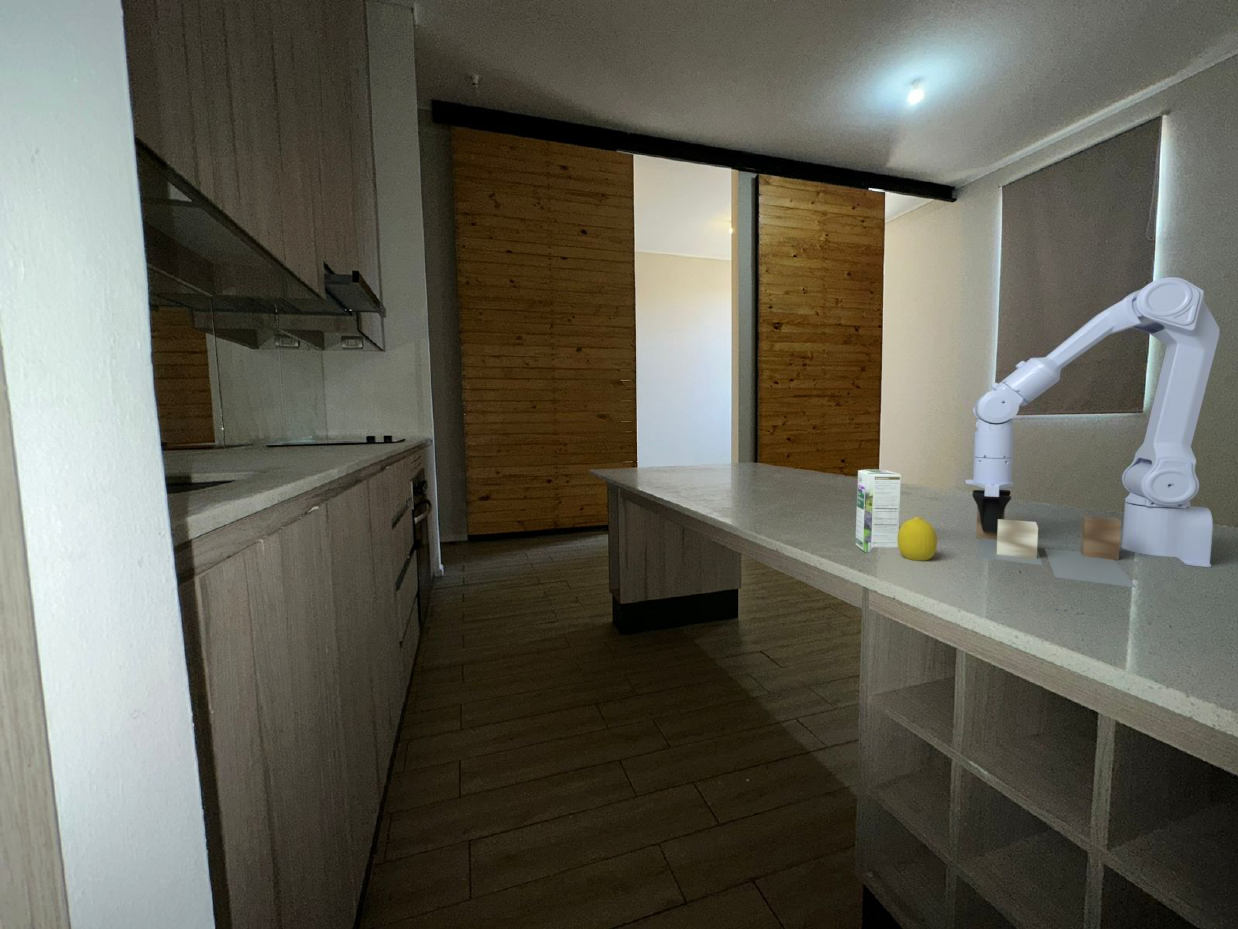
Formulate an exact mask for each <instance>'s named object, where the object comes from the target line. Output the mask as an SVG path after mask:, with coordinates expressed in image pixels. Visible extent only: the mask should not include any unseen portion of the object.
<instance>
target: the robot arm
mask: <svg viewBox="0 0 1238 929" xmlns="http://www.w3.org/2000/svg"><path fill="white" fill-rule="evenodd" d="M1128 329H1135V330H1136V331H1141V332H1144V333H1148V334H1149V335H1151V336H1152V337H1154V339H1157V340H1158V341H1159V342H1160V343H1161V344H1164V346H1166V349H1165V353H1164V358H1163V362H1162V366H1161V370H1160V374H1159V378H1158V382H1157V386H1156V391H1155V395H1154V399H1153V402H1152V407H1151V412H1150V416H1149V420H1148V424H1147V428H1146V432H1145V436H1144V441H1143V443H1142V445H1141V446H1140V447H1138V449H1137V451H1136V452H1135V455H1134V458H1133V460H1132V462H1131V464H1130V465H1128V467H1127V468H1125V469H1124V471H1123V473H1122V476H1121V482H1122V483H1121V484H1122V485H1123V487H1124V489H1125V490H1126V491H1127V492H1128V493H1129V494H1128V495H1127V497H1125V498H1124V499H1125V500H1124V510H1123V511H1124V512H1123V523H1122V524H1123V526H1122V541H1121V543H1122V544H1121V548H1122V549H1123V550H1126V551H1129V552H1133V553H1137V554H1144V555H1150V556H1155V557H1156V556H1158V557H1167V558H1168V557H1171V558H1172V557H1173V558H1178V559H1179V560H1180V561H1182V562H1183V564H1185V565H1186V566H1192V567H1201V568H1202V567H1203V568H1212V564H1211V552H1212V542H1213V541H1212V540H1213V530H1214V527H1213V526H1214V522H1213V515H1212V512H1211V510H1210V508H1208V507H1205V506H1194V505H1191V500H1192V499H1194V498H1195V496H1197V494H1198V492H1199V489H1200V482H1199V479H1198V476H1197V475H1196V465H1197V458H1196V456H1195V454H1194V452H1193V449H1192V443H1193V440H1194V437H1195V436H1194V435H1195V432H1196V427H1197V424H1198V420H1199V417H1200V414H1201V413H1200V412H1201V408H1202V404H1203V400H1204V398H1205V392H1206V389H1207V385H1208V382H1209V381H1208V380H1209V377H1210V373H1211V370H1212V369H1211V368H1212V366H1213V361H1214V358H1215V353H1216V350H1217V346H1218V342H1219V338H1220V336H1221V335H1220V329H1221V328H1220V326H1219V325H1218V323H1217V322H1216V320H1215V318H1214V316H1213V314H1212V312H1211V310H1210V309H1209V307H1208V305H1207V303H1206V302H1205V290H1203V289H1201V287H1198V286H1196V285H1194V284H1193V283H1191V282H1189V281H1188V280H1186V279H1184V278H1181V277H1177V276H1176V277H1174V276H1171V277H1170V276H1169V277H1168V276H1167V277H1162V278H1158V279H1156V280H1153V281H1152V282H1149V283H1148V284H1146V285H1145V286H1144V287H1143V288H1140V289H1139V290H1136V291H1133V292H1132V293H1129V294H1128V295H1126V296H1125V297H1124V298H1123V299H1122V300H1120V301H1118V302H1116V303H1114V304H1112V305H1111V306H1109V307H1108V308H1106V309H1104V310H1103V311H1101V312H1099V313H1098V314H1096V315H1095V316H1093V317H1092V318H1091V319H1090V320H1089V321H1088V322H1086V323H1085V324H1084V325H1082V326H1081V327H1080V328H1079V329H1078V330H1076V331H1075V332H1074V333H1073V334H1072V335H1070V336H1069V337H1068V338H1067V339H1066V340H1064V341H1063V342H1062V343H1060V344H1059V345H1058V346H1057V347H1056V348H1054V349H1053V350H1052V351H1051V352H1049V353H1048V354H1047V355H1046V356H1045V357H1042V356H1041V357H1030V358H1029V359H1028V360H1026V361H1024V360H1021V361H1020V362H1018V363H1017V364H1016V365H1015V368H1016V369H1015V370H1014V371H1013V372H1011V373H1010V374H1009V375H1008V376H1007V377H1005V378H1004V379H1002V381H1000V382H999V383H998V382H994V383H993V384H992V385H991V386H990V387H991V389H992V390H990V391H988V392H986V393H985V394H983V395H981V396H980V397H979V398H978V399H977V400H976V402H975V404H974V407H973V408H972V411H973V415H974V416H975V417H976V418H977V419H976V422H975V432H974V442H973V444H974V446H973V449H974V450H973V470H972V471H973V473H972V479H971V478H970V479H965V480H964V481H965V485H972V486H974V487H977V488H981V489H973V490H972V494H971V496H972V498H973V500H974V501H975V503H976V506H978V509H979V513H980V520H981V526H982V530H983V532H993V533H997V528H998V519H1001V518H1002V514H1003V511H1004V509H1005V510H1006V507H1007V505H1008V504H1009V502H1010V500H1011V499H1012V496H1011V490H1009V489H1007V488H1012V487H1013V486H1014V482H1013V481H1012V480H1013V461H1014V460H1013V458H1014V456H1013V455H1014V438H1015V437H1014V436H1015V435H1014V434H1015V432H1014V431H1013V430H1014V428H1013V427H1014V418H1015V417H1016V416H1017V415H1018V412H1019V410H1020V407H1026V406H1027V405H1028V404H1030V403H1031V402H1032V401H1034V400H1035V399H1036V398H1038V397H1040V395H1042V394H1043V393H1044V392H1046V391H1047V390H1048V389H1050V388H1052V387H1053V386H1054V385H1055V384H1057V383H1058V382H1059V381H1060V379H1061V371H1062V369H1063V368H1064V367H1066V366H1067V365H1069V364H1070V363H1071V362H1073V361H1074V360H1075V359H1077V358H1079V357H1080V356H1081V355H1083V354H1084V353H1085V352H1087V351H1089V349H1091V348H1093V346H1095V345H1097V344H1098V343H1099V342H1101V341H1102V340H1104V339H1105V338H1106V337H1108V336H1109V335H1112V334H1115V333H1119V332H1123V331H1126V330H1128Z"/></svg>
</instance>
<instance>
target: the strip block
mask: <svg viewBox="0 0 1238 929" xmlns="http://www.w3.org/2000/svg"><path fill="white" fill-rule="evenodd" d="M976 506H977V505H976ZM1005 510H1006V508H1005V509H1004V511H1003V514H1002V518H1001V519H1003V520H1005V512H1006V511H1005ZM975 534H976V535H975V537H976V539H979V540H978V551H977V558H978V559H979V558H980V559H986V560H996V561H1004V562H1012V563H1020V564H1021V563H1022V564H1031V565H1039V566H1043V563H1042V558H1041V555H1040V554H1039V550H1038V548H1037V559H1033V558H1025V557H1016V556H1007V555H998V554H997V533H993V532H983V530H982V526H981V520H980V513H979V509H978V506H977V508H976V532H975Z"/></svg>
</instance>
